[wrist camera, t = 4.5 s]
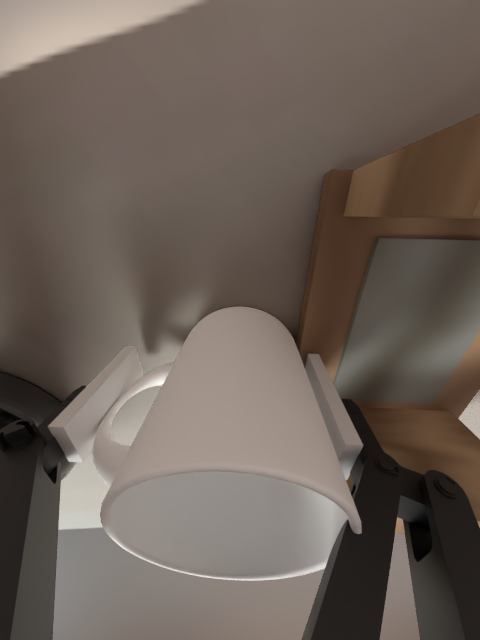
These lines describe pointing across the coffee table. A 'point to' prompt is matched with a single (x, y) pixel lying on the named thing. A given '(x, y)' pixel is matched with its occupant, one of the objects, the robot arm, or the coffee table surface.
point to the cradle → (404, 299)
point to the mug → (227, 459)
